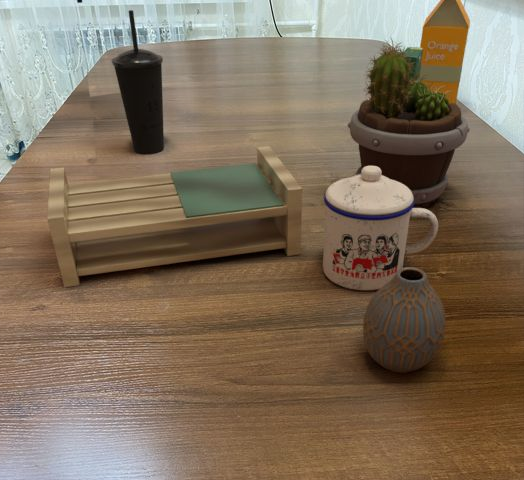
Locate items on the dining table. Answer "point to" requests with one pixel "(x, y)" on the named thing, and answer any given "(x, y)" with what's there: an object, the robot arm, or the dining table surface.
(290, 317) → the dining table surface
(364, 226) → the teacup with lid
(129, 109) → the drinking cup
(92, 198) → the rack
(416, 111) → the flowerpot
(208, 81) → the dining table surface
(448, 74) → the orange juice
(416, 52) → the coffee box
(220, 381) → the dining table surface
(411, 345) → the vase
